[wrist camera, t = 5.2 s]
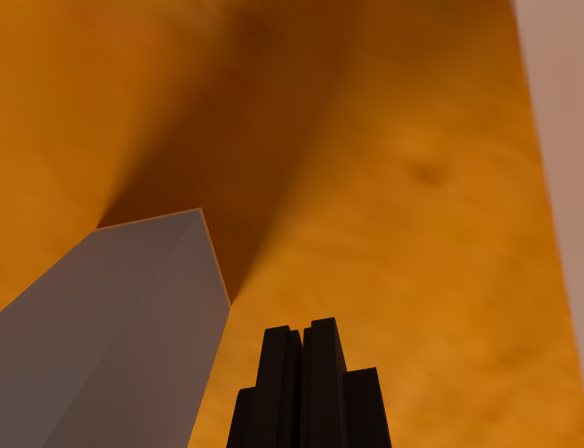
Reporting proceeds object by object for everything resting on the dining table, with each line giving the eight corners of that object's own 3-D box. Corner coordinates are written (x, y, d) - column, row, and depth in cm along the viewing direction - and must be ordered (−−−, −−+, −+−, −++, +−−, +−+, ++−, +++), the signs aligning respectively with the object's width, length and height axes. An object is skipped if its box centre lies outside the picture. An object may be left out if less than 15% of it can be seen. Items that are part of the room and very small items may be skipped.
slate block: (95, 228, 20) (-241, 523, 8) (201, 206, 20) (15, 487, 7) (131, 323, 22) (-103, 691, 9) (231, 305, 21) (116, 671, 9)
